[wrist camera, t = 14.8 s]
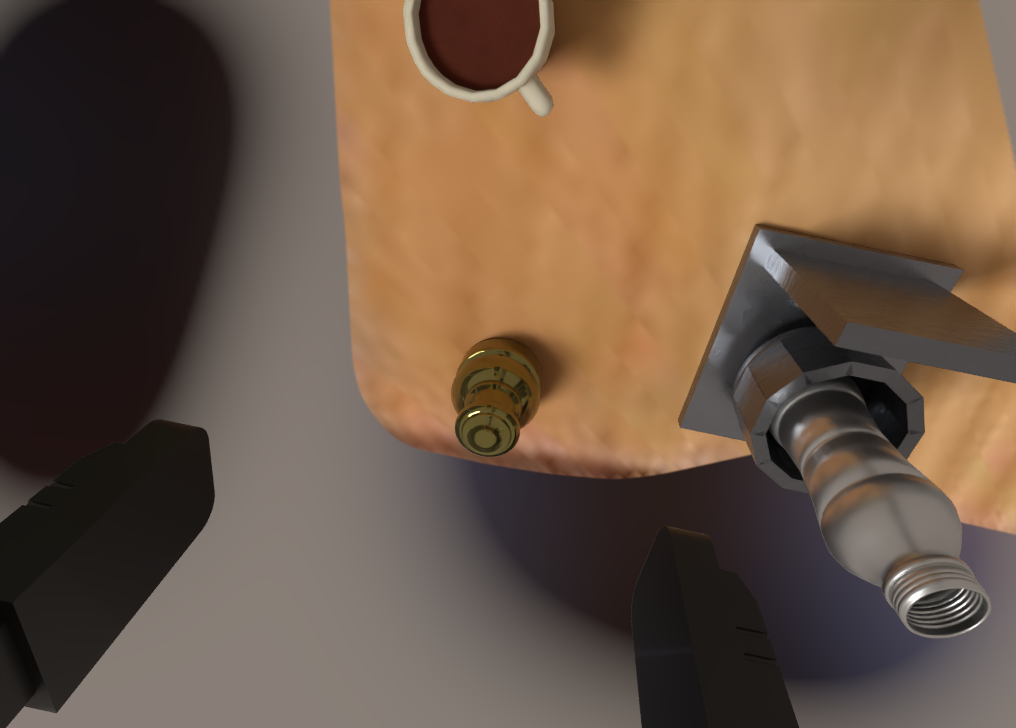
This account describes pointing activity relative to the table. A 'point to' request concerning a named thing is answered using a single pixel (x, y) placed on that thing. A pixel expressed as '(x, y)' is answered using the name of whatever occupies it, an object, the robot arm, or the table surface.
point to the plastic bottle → (880, 510)
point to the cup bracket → (834, 340)
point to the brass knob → (495, 396)
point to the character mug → (482, 47)
